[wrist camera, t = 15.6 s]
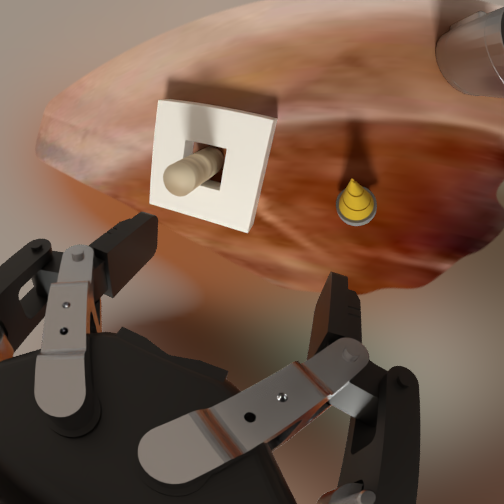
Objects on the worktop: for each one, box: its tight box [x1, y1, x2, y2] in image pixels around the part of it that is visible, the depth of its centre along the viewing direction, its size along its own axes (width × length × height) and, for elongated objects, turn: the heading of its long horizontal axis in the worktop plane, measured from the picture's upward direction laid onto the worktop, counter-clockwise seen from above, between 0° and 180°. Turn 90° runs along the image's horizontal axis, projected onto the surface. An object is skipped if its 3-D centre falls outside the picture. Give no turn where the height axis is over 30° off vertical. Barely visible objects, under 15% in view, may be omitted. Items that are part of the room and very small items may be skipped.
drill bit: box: [336, 179, 377, 226], centre depth 34 cm, size 5×5×10 cm
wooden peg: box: [163, 147, 225, 197], centre depth 36 cm, size 4×4×10 cm
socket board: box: [150, 99, 278, 233], centre depth 39 cm, size 16×16×3 cm
